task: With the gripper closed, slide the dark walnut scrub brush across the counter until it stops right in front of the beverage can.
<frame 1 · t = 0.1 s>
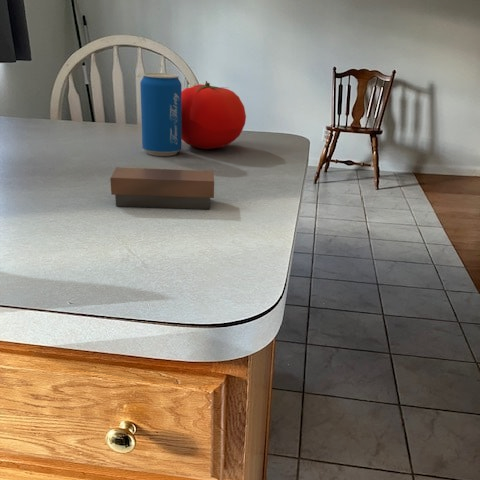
tomato: (209, 148, 97), on the table
scrub brush: (164, 202, 67), on the table
beverage can: (162, 153, 91), on the table
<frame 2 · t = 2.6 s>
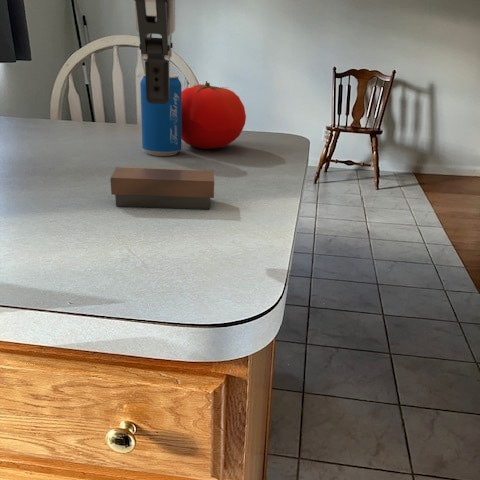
hand: (158, 102, 54), 13 cm above the table, tool pointing down, fingers closed
nothing on the table moved.
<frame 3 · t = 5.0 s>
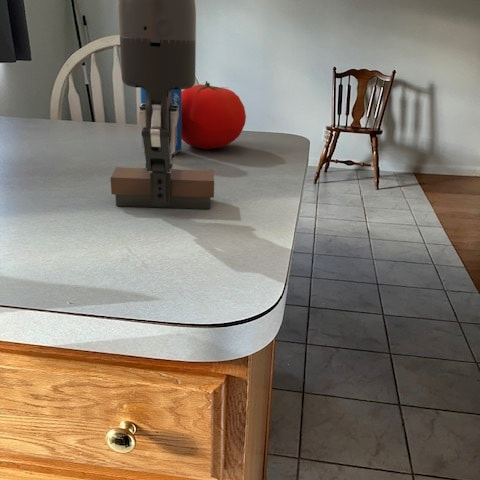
hand: (161, 204, 62), 1 cm above the table, tool pointing down, fingers closed
scrub brush: (164, 202, 67), on the table, touching gripper
everything else where it was.
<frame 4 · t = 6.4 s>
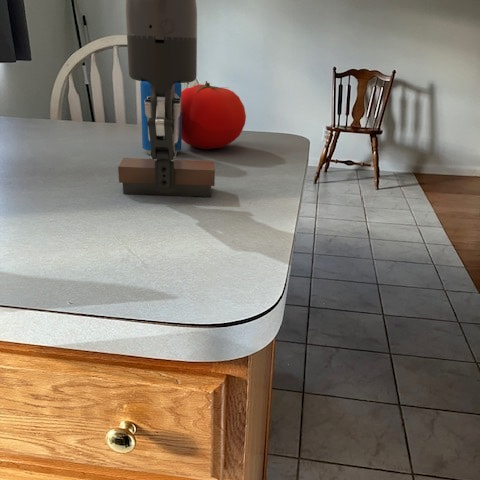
hand: (165, 191, 67), 1 cm above the table, tool pointing down, fingers closed
scrub brush: (168, 190, 71), on the table, touching gripper
everything else where it was.
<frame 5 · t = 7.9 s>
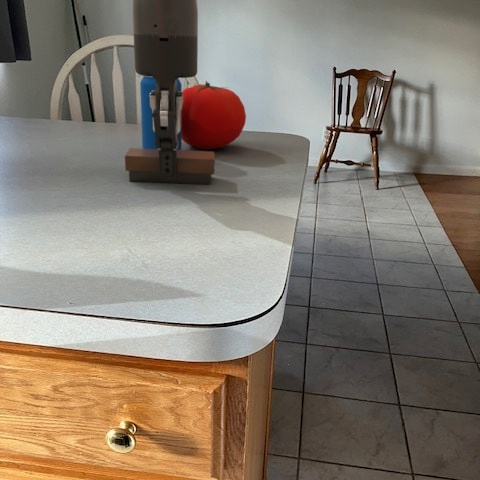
hand: (168, 178, 72), 1 cm above the table, tool pointing down, fingers closed
scrub brush: (171, 178, 77), on the table, touching gripper
everything else where it was.
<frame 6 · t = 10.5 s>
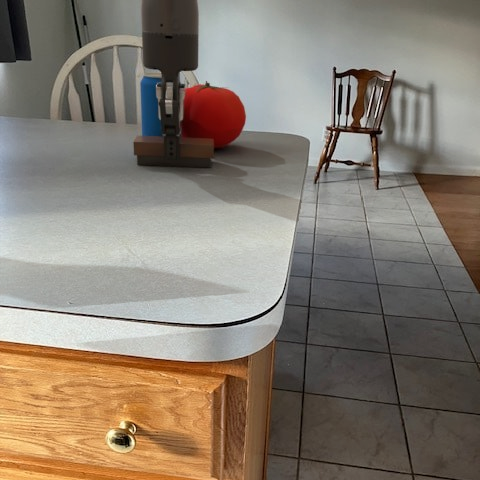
hand: (172, 162, 80), 1 cm above the table, tool pointing down, fingers closed
scrub brush: (174, 163, 85), on the table, touching gripper
everything else where it was.
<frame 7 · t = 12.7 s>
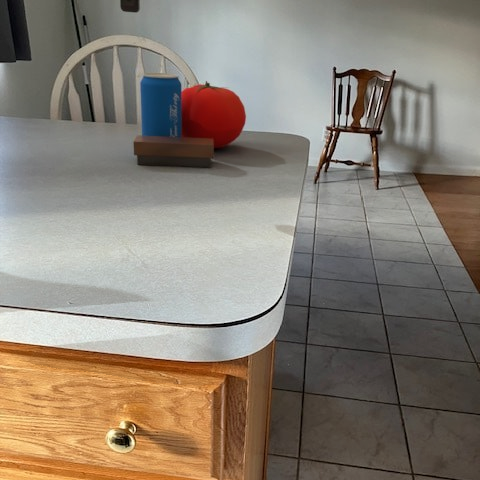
hand: (130, 11, 67), 20 cm above the table, tool pointing down, fingers closed
scrub brush: (174, 162, 85), on the table
everything else where it was.
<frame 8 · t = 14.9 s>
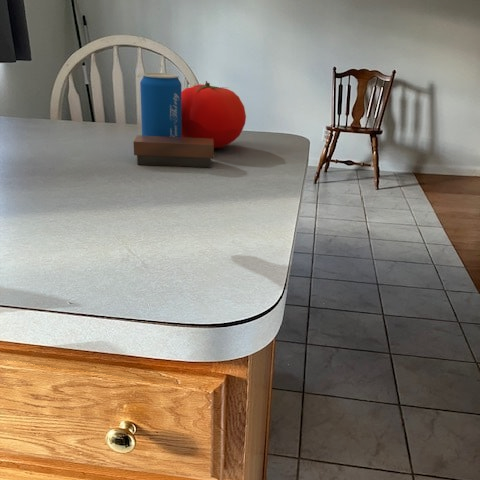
nothing on the table moved.
at the end: scrub brush 7.4 cm from the beverage can (horizontally); beverage can moved 0.2 cm from its start; scrub brush tilted 0° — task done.
